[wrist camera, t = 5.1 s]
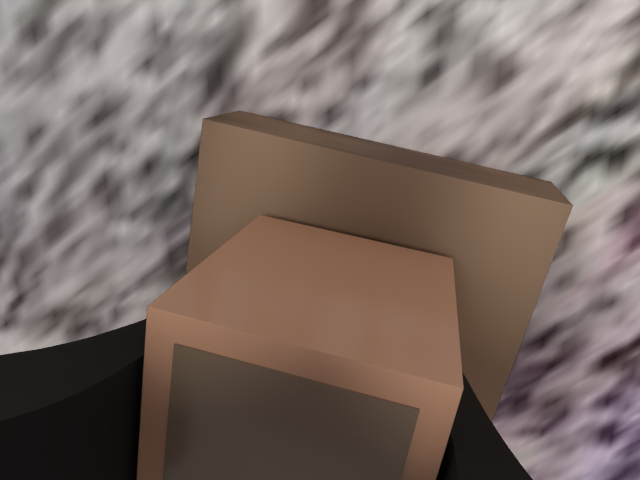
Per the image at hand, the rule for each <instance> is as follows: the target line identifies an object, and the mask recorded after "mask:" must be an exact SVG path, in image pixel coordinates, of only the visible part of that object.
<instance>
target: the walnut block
mask: <svg viewBox="0 0 640 480" xmlns="http://www.w3.org/2000/svg"><path fill="white" fill-rule="evenodd" d="M572 206H573V205H572V204H571V203H570V202H569V201H568V200H567V199H566V198H565V196H564V195H563V194H562V193H561V192H560V191H559V190H558V189H557V188H556V187H555V186H554V185H553V184H552V182H549V181H544V180H540V179H536V178H531V177H527V176H523V175H518V174H514V173H509V172H505V171H501V170H496V169H492V168H488V167H483V166H479V165H475V164H470V163H466V162H461V161H457V160H453V159H448V158H444V157H440V156H435V155H431V154H427V153H422V152H418V151H413V150H409V149H405V148H400V147H396V146H392V145H387V144H383V143H378V142H374V141H370V140H365V139H361V138H357V137H352V136H348V135H344V134H339V133H335V132H330V131H326V130H322V129H317V128H313V127H309V126H304V125H300V124H295V123H291V122H287V121H282V120H278V119H274V118H269V117H265V116H261V115H256V114H252V113H247V112H243V111H236V112H232V113H227V114H223V115H218V116H214V117H209V118H205V119H203V123H202V132H201V141H200V150H199V159H198V168H197V177H196V186H195V195H194V204H193V213H192V222H191V231H190V239H189V248H188V257H187V266H186V275H187V274H188V273H189V272H190V271H191V270H193V269H194V268H195V267H196V266H198V265H199V264H200V263H201V262H203V261H204V260H205V259H206V258H207V257H209V256H210V255H211V254H212V253H214V252H215V251H216V250H217V249H219V248H220V247H221V246H222V245H224V244H225V243H226V242H227V241H228V240H230V239H231V238H232V237H233V236H235V235H236V234H237V233H238V232H240V231H241V230H242V229H243V228H244V227H246V226H247V225H248V224H249V223H251V222H252V221H253V220H254V219H256V218H257V217H258V216H259V215H263V216H267V217H272V218H276V219H281V220H285V221H289V222H294V223H298V224H303V225H307V226H312V227H316V228H320V229H325V230H329V231H334V232H338V233H343V234H347V235H351V236H356V237H360V238H365V239H369V240H374V241H378V242H382V243H387V244H391V245H396V246H400V247H405V248H409V249H413V250H418V251H422V252H427V253H431V254H436V255H440V256H444V257H449V258H453V267H454V279H455V291H456V303H457V315H458V327H459V340H460V352H461V364H462V372H463V373H464V375H465V377H466V379H467V380H468V382H469V384H470V386H471V387H472V389H473V391H474V393H475V395H476V396H477V398H478V400H479V402H480V403H481V405H482V407H483V409H484V410H485V412H486V414H487V415H488V417H489V419H490V420H491V422H492V419H493V417H494V414H495V411H496V409H497V406H498V403H499V401H500V398H501V395H502V393H503V390H504V387H505V385H506V382H507V379H508V377H509V374H510V371H511V369H512V366H513V363H514V361H515V358H516V355H517V353H518V350H519V347H520V345H521V342H522V339H523V337H524V334H525V332H526V329H527V326H528V324H529V321H530V318H531V316H532V313H533V310H534V308H535V305H536V302H537V300H538V297H539V294H540V292H541V289H542V286H543V284H544V281H545V278H546V276H547V273H548V270H549V268H550V265H551V262H552V260H553V257H554V254H555V252H556V249H557V246H558V244H559V241H560V238H561V236H562V233H563V230H564V228H565V225H566V222H567V220H568V217H569V214H570V212H571V209H572Z"/></svg>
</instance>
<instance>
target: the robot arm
mask: <svg viewBox="0 0 640 480" xmlns="http://www.w3.org/2000/svg"><path fill="white" fill-rule="evenodd" d="M146 320H147V319H145V320H142V321H139V322H137V323H134V324H131V325H127V326H124V327H121V328H118V329H115V330H112V331H109V332H106V333H103V334H99V335H96V336H93V337H89V338H86V339H82V340H78V341H74V342H70V343H65V344H61V345H56V346H52V347H47V348H42V349H37V350H31V351H24V352H18V353H12V354H5V355H0V480H137V465H138V449H139V433H140V417H141V401H142V384H143V368H144V352H145V336H146ZM462 376H463V388H464V389H463V392H462V395H461V399H460V402H459V405H458V409H457V412H456V415H455V418H454V422H453V425H452V428H451V432H450V435H449V438H448V442H447V445H446V448H445V451H444V455H443V458H442V461H441V465H440V468H439V471H438V474H437V478H436V480H533V479H532V478H531V477H530V476H529V474H528V473H527V472H526V471H525V469H524V468H523V467H522V465H521V464H520V463H519V461H518V460H517V459H516V457H515V456H514V454H513V453H512V452H511V450H510V449H509V448H508V446H507V445H506V443H505V442H504V440H503V439H502V437H501V436H500V434H499V433H498V431H497V430H496V428H495V427H494V425H493V423H492V422H491V420H490V419H489V417H488V415H487V414H486V412H485V410H484V409H483V407H482V405H481V403H480V402H479V400H478V398H477V396H476V395H475V393H474V391H473V389H472V387H471V386H470V384H469V382H468V380H467V379H466V377H465V375H464V373H463V372H462Z"/></svg>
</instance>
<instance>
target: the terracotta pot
mask: <svg viewBox="0 0 640 480" xmlns="http://www.w3.org/2000/svg"><path fill="white" fill-rule="evenodd" d="M463 389H464V388H463V376H462V364H461V352H460V340H459V327H458V315H457V303H456V291H455V279H454V267H453V258H449V257H444V256H440V255H436V254H431V253H427V252H422V251H418V250H413V249H409V248H405V247H400V246H396V245H391V244H387V243H382V242H378V241H374V240H369V239H365V238H360V237H356V236H351V235H347V234H343V233H338V232H334V231H329V230H325V229H320V228H316V227H312V226H307V225H303V224H298V223H294V222H289V221H285V220H281V219H276V218H272V217H267V216H263V215H259V216H258V217H257V218H256V219H254V220H253V221H252V222H251V223H249V224H248V225H247V226H246V227H244V228H243V229H242V230H241V231H240V232H238V233H237V234H236V235H235V236H233V237H232V238H231V239H230V240H228V241H227V242H226V243H225V244H224V245H222V246H221V247H220V248H219V249H217V250H216V251H215V252H214V253H212V254H211V255H210V256H209V257H207V258H206V259H205V260H204V261H203V262H201V263H200V264H199V265H198V266H196V267H195V268H194V269H193V270H191V271H190V272H189V273H188V274H187V275H185V276H184V277H183V278H182V279H180V280H179V281H178V282H177V283H175V284H174V285H173V286H172V287H171V288H169V289H168V290H167V291H166V292H164V293H163V294H162V295H161V296H159V297H158V298H157V299H156V300H154V301H153V302H152V303H151V304H150V305H148V306H147V320H146V336H145V352H144V368H143V384H142V401H141V417H140V433H139V449H138V465H137V480H436V478H437V474H438V471H439V468H440V465H441V461H442V458H443V455H444V451H445V448H446V445H447V442H448V438H449V435H450V432H451V428H452V425H453V422H454V418H455V415H456V412H457V409H458V405H459V402H460V399H461V395H462V392H463Z"/></svg>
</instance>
